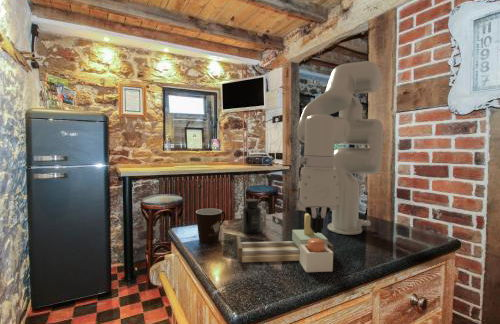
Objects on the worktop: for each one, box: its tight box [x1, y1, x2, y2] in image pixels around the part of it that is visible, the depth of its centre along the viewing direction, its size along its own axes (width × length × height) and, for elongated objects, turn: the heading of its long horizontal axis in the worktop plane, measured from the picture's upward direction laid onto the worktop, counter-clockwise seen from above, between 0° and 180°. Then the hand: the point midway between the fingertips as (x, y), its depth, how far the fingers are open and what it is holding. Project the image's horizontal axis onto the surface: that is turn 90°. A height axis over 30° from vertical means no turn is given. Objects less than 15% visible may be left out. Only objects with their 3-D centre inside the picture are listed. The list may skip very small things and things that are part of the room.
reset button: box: [308, 238, 324, 252], centre depth 73 cm, size 4×4×3 cm
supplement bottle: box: [242, 198, 262, 235], centre depth 102 cm, size 7×7×12 cm
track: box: [236, 235, 334, 263], centre depth 82 cm, size 27×10×4 cm, turn 96°
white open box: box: [299, 244, 334, 273], centre depth 73 cm, size 7×6×5 cm
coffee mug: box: [195, 207, 226, 245], centre depth 92 cm, size 12×9×10 cm
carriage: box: [291, 212, 329, 249], centre depth 82 cm, size 8×9×9 cm
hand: (316, 231), depth 73 cm, fingers closed
